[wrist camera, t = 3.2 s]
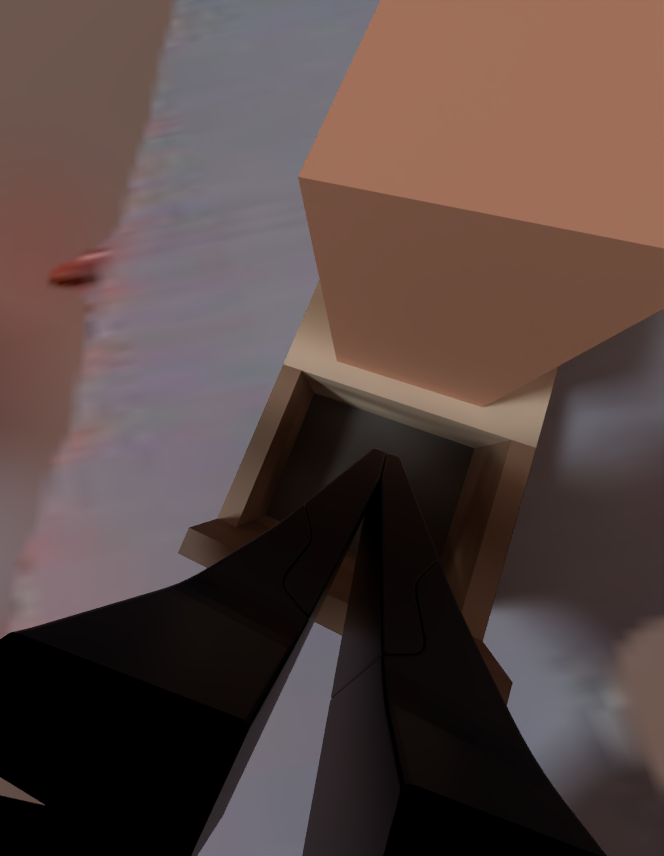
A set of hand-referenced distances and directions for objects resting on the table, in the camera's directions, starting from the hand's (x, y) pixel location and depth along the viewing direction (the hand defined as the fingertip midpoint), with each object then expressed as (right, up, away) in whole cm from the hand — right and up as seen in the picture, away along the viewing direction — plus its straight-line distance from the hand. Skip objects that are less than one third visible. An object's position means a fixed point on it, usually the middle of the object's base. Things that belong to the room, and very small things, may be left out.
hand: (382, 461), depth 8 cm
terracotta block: (+3, +6, +4) cm, 8 cm away
